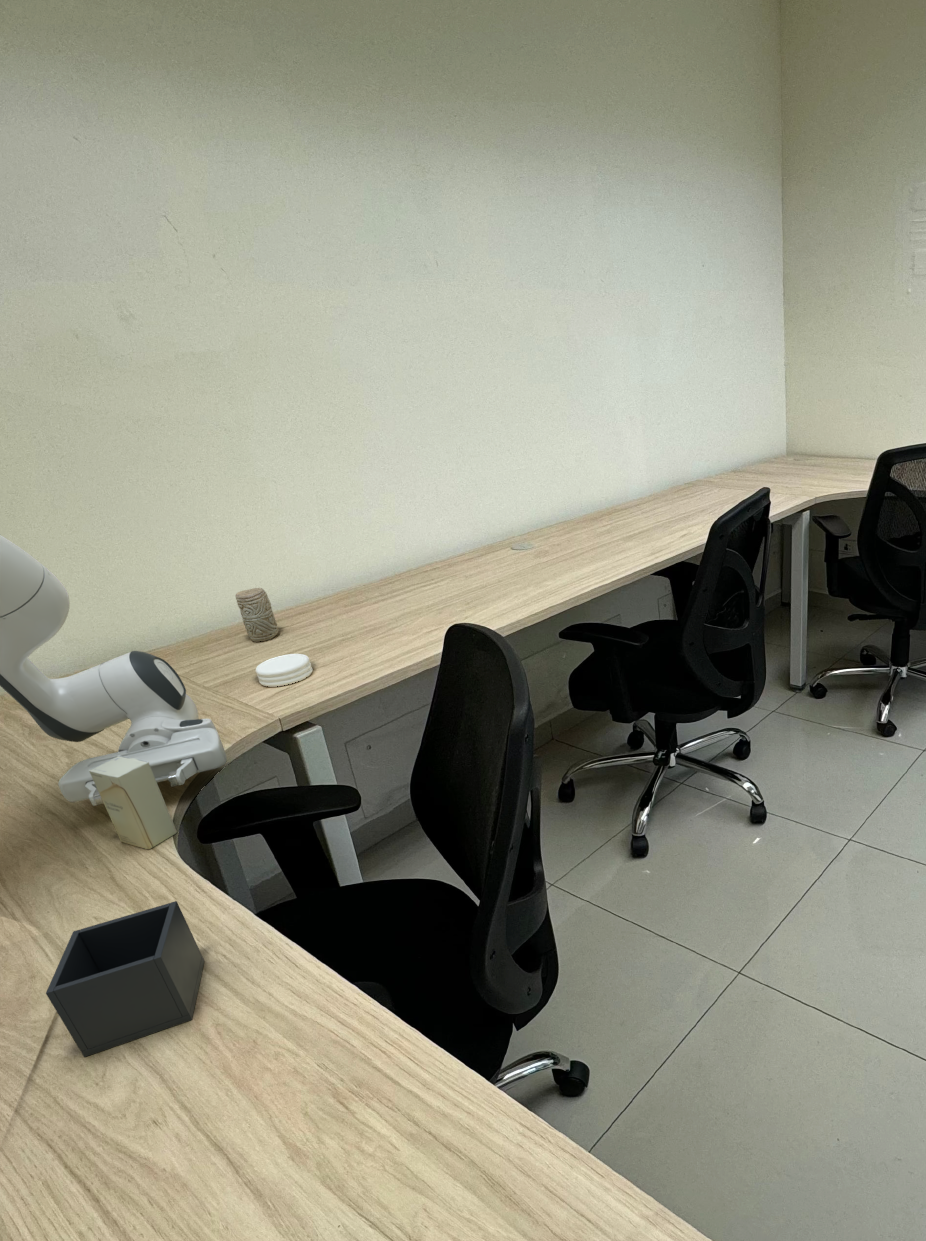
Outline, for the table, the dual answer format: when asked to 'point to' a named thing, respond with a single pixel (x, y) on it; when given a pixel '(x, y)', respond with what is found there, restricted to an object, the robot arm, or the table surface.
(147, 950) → the waste bin
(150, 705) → the robot arm
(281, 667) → the white ridged disc
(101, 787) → the cosmetic box
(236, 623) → the table surface
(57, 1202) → the table surface
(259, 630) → the carving
